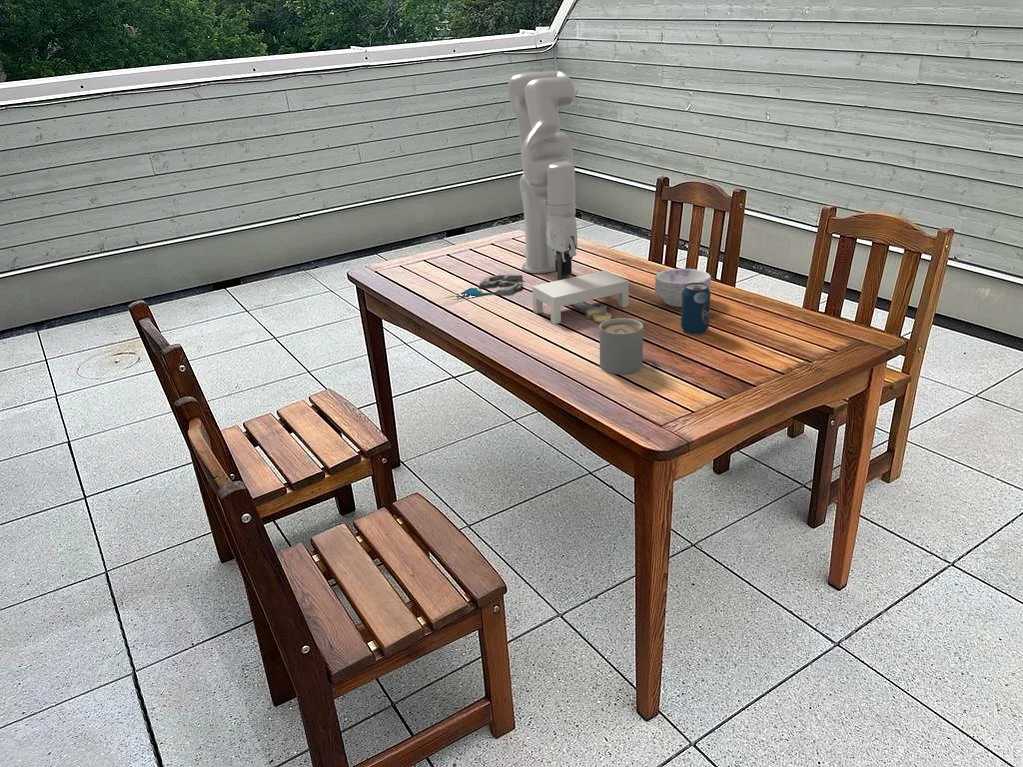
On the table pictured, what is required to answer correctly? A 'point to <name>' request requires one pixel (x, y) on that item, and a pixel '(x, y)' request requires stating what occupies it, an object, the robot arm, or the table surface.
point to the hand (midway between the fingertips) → (563, 272)
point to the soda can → (695, 308)
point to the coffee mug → (621, 346)
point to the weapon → (497, 280)
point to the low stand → (578, 292)
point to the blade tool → (583, 306)
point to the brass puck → (601, 317)
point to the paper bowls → (678, 283)
